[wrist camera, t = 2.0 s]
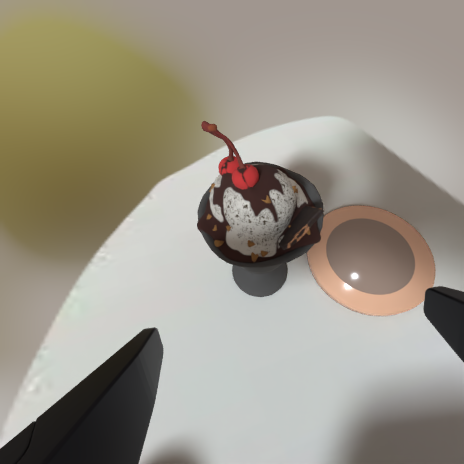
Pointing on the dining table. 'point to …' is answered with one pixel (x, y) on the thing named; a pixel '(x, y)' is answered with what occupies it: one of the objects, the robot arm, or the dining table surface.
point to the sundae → (258, 219)
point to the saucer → (371, 261)
